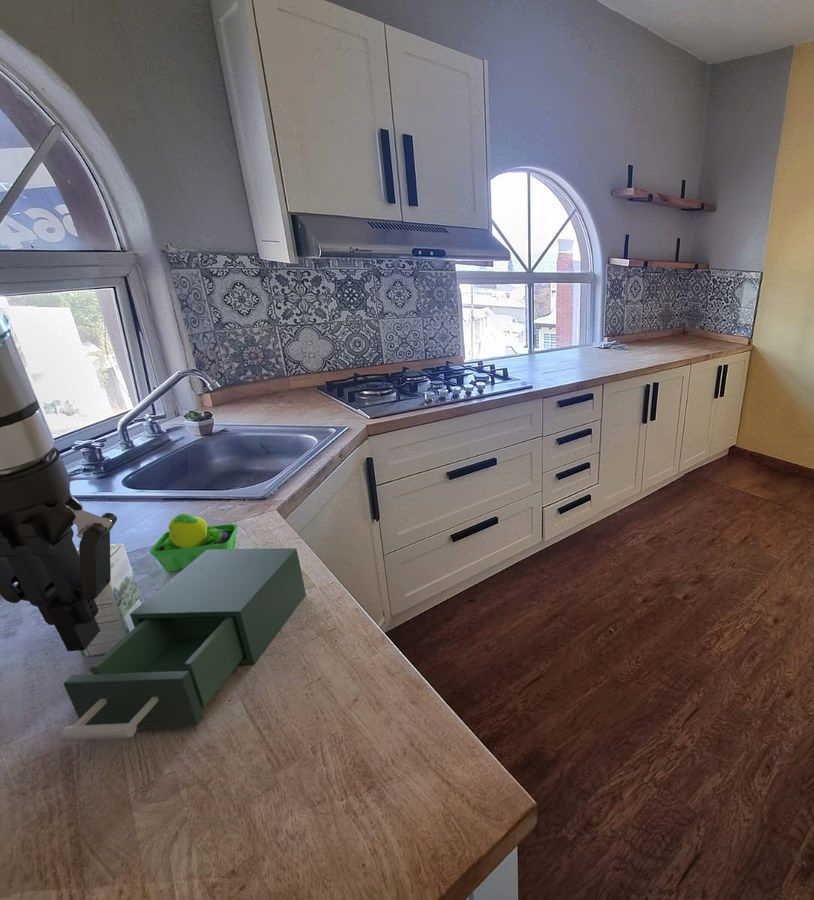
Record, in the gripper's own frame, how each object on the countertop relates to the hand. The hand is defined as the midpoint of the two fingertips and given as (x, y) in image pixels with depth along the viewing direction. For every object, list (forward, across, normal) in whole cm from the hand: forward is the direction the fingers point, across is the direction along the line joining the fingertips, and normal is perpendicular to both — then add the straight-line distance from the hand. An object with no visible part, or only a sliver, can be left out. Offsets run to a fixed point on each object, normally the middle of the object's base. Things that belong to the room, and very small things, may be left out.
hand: (84, 640), depth 55 cm
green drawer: (+12, -5, -1) cm, 13 cm away
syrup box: (+17, +8, -14) cm, 23 cm away
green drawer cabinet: (+15, -7, -14) cm, 22 cm away
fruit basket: (+20, +6, -34) cm, 40 cm away
